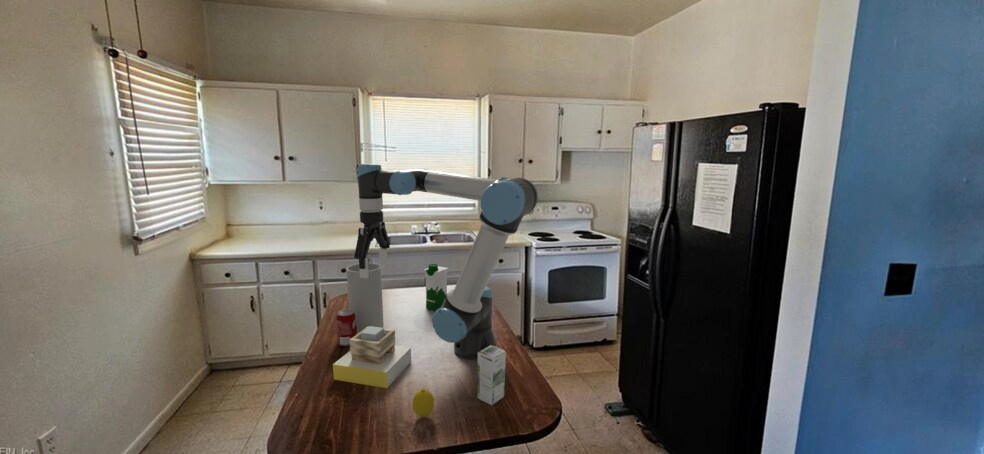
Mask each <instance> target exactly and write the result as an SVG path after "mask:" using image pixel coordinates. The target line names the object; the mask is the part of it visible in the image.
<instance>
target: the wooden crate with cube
mask: <svg viewBox="0 0 984 454" xmlns="http://www.w3.org/2000/svg"><path fill="white" fill-rule="evenodd" d="M367 328H368V327H366V328H365V329H367ZM365 329H363V330H362V331H361V332H363V331H364V330H365ZM361 332H359V333H358V334H357V335H355V336H354V337H353V338H351V339H350V346H349V351H350V353H351V354H352V360H355V361H362V362H369V363H375V364H382V363H383V362H384V353H391V354H392V353H393V352H394V351H395V344H396V330H395V329H390V328H384V337H383V338H382V339H380V340H379V341H378V342H375V341H368V340H362V338H361Z"/></svg>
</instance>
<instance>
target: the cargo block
mask: <svg viewBox="0 0 984 454" xmlns="http://www.w3.org/2000/svg"><path fill="white" fill-rule="evenodd" d="M384 329H385V327H383V328H381V327H373V326H369V327H368V328H367V329H365V330H364V331H363V332H361V338H362V340H368V341H375V342H378V341H379V340H380V339H382V338H383V337H384Z"/></svg>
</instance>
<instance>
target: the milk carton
mask: <svg viewBox="0 0 984 454" xmlns="http://www.w3.org/2000/svg"><path fill="white" fill-rule="evenodd" d="M423 272H424V276H425V292H426V293H425V294H426V295H425V309H426V308H427V309H428V310H430V309H431V311H434V310H435V312H436V310H438V309H439V308H441V307H442V305H443V303H444V300H445V298H446V296H447V293H448V289H447V288H448V286H447V285H448V283H447V282H448V281H447V280H448V272H449V267H443V266H439V265H438V264H437V263H436V264H435V263H431V264H428V267H427V268H424V269H423Z"/></svg>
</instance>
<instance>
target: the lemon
mask: <svg viewBox="0 0 984 454" xmlns="http://www.w3.org/2000/svg"><path fill="white" fill-rule="evenodd" d="M434 406H435V401H434V396H433V393H432V392H431V391H430V390H428V389H425V388H421V389H419V390H418V391H417V392H416V393H415V394H414V395H413V398H412V410H413V412H414V414H415V415H416V416H418V417H421V418H426V417H428V416H429V415H430V414H431V413H432V412H433V409H434V408H435V407H434Z"/></svg>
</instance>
